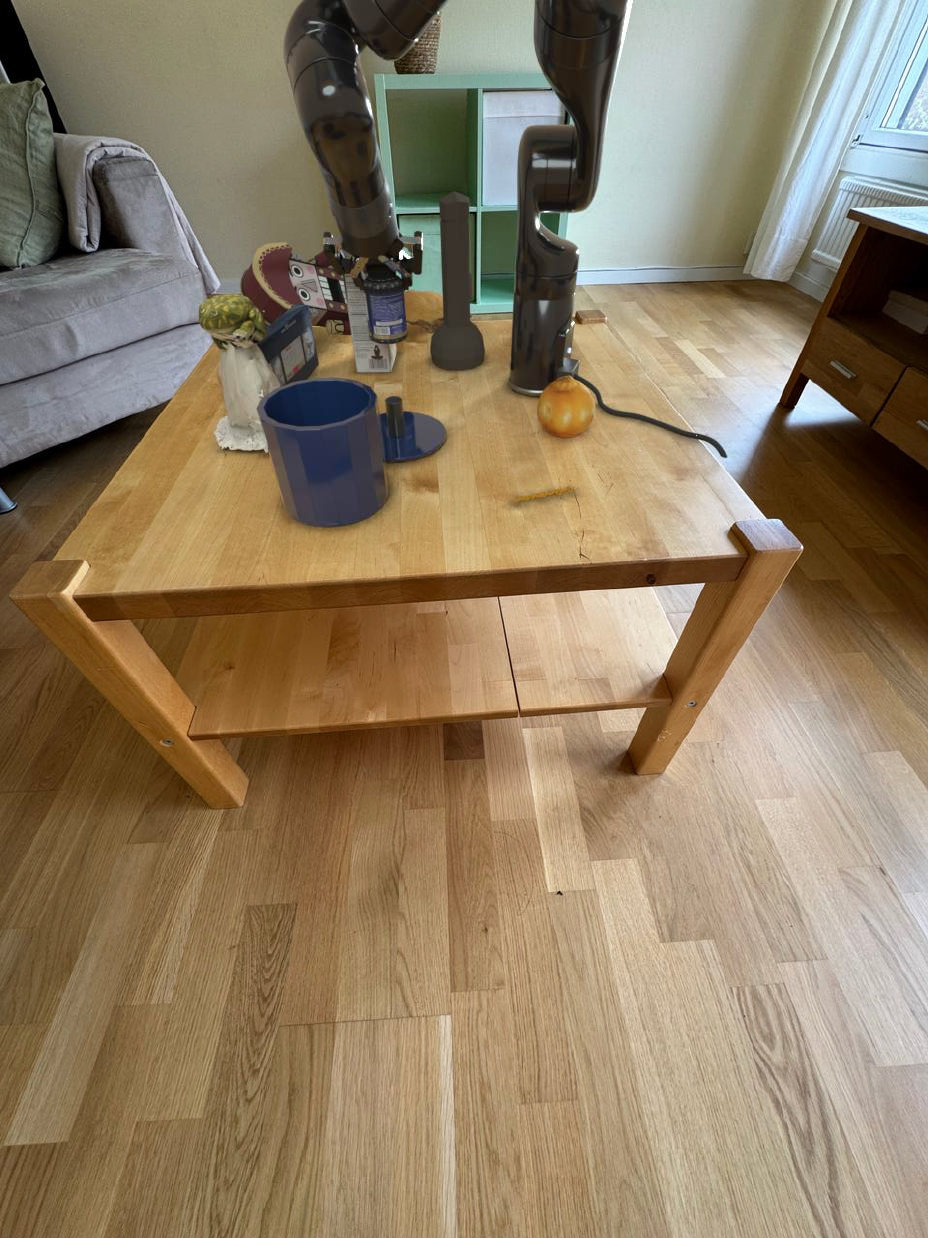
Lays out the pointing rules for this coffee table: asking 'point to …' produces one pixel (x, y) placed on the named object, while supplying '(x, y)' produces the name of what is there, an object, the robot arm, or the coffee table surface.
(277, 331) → the vhs cassette tape
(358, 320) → the coffee box
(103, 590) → the coffee table surface
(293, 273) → the toy
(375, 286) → the pill bottle
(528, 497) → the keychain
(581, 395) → the fruit
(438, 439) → the lid
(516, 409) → the coffee table surface
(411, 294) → the orange wide rounded piece
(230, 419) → the frog
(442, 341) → the flashlight
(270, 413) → the tin
